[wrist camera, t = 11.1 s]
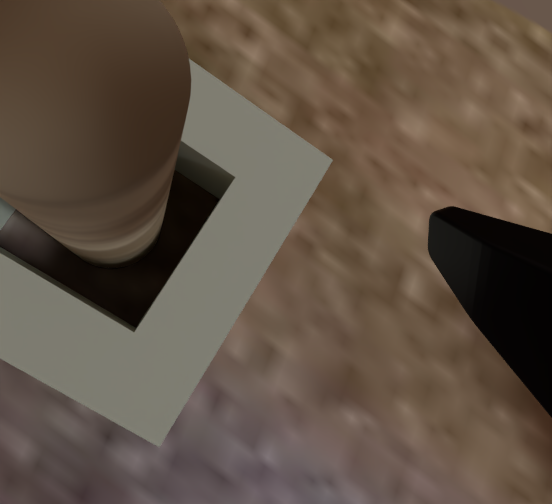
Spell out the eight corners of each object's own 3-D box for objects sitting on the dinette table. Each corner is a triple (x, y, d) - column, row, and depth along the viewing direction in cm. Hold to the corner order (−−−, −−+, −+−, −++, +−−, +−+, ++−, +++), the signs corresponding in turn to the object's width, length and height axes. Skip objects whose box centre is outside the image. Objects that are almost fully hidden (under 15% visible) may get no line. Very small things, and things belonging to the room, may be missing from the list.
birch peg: (155, 273, 21) (176, 217, 8) (54, 262, 20) (-120, 177, 7) (167, 181, 22) (204, -20, 8) (68, 166, 21) (-69, -87, 7)
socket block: (156, 421, 21) (159, 447, 17) (-123, 262, 19) (-191, 251, 15) (301, 184, 23) (333, 160, 20) (69, 24, 22) (53, -38, 18)
